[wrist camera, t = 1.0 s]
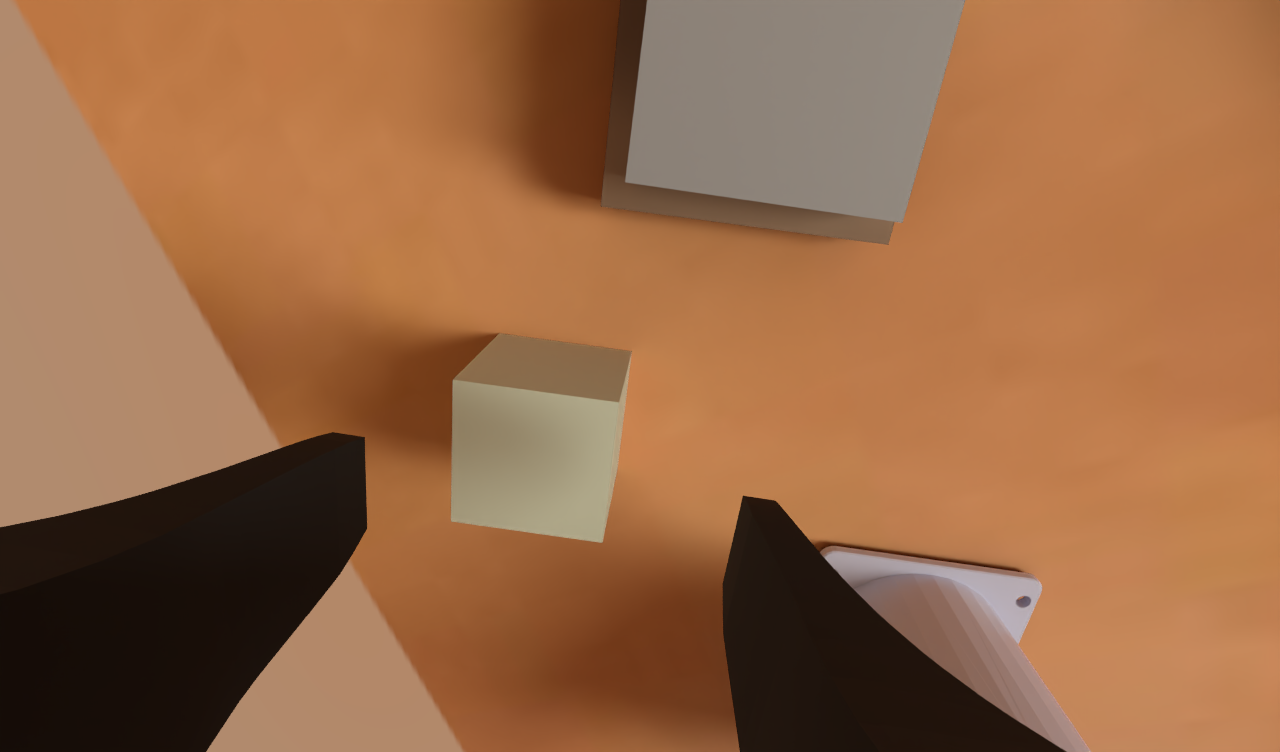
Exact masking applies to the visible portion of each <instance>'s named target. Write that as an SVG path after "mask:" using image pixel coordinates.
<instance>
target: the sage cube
mask: <svg viewBox="0 0 1280 752" xmlns="http://www.w3.org/2000/svg"><path fill="white" fill-rule="evenodd" d="M631 354H632V351H626V350H619V349H611V348H604V347H597V346H589V345H582V344H575V343H567V342H560V341H553V340H545V339H538V338H531V337H523V336H516V335H509V334H501V333H499V334H498V335H497V336H496V337H495V338H494V339H493V340H492V341H491V342H490V343H489V344H488V345H487V346H486V347H485V348H484V349H483V350H482V351H481V352H480V353H479V354H478V355H477V356H476V357H475V358H474V359H473V360H472V361H471V362H470V363H469V364H468V365H467V366H466V367H465V368H464V369H463V370H462V371H461V372H460V373H459V374H458V375H457V376H456V377H455V378H454V379H453V393H452V481H451V521H452V522H459V523H466V524H473V525H480V526H487V527H494V528H501V529H508V530H515V531H523V532H530V533H537V534H544V535H551V536H558V537H565V538H572V539H579V540H586V541H593V542H600V543H603V538H604V533H605V528H606V523H607V518H608V513H609V508H610V503H611V498H612V493H613V488H614V483H615V478H616V473H617V468H618V460H619V452H620V444H621V435H622V427H623V419H624V411H625V403H626V395H627V387H628V379H629V370H630V362H631Z"/></svg>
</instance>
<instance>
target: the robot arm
mask: <svg viewBox="0 0 1280 752" xmlns="http://www.w3.org/2000/svg"><path fill="white" fill-rule="evenodd" d="M366 530H367V507H366V472H365V437H360V436H353V435H347V434H340V433H334V432H332V433H328V434H324V435H320V436H316V437H313V438H310V439H307V440H304V441H301V442H298V443H295V444H292V445H289V446H286V447H283V448H280V449H277V450H275V451H272V452H269V453H266V454H263V455H260V456H258V457H255V458H252V459H249V460H246V461H243V462H241V463H238V464H235V465H232V466H229V467H226V468H223V469H221V470H218V471H215V472H211V473H208V474H205V475H202V476H199V477H196V478H193V479H190V480H186V481H184V482H180V483H177V484H174V485H171V486H168V487H165V488H162V489H158V490H155V491H152V492H149V493H145V494H142V495H138V496H135V497H131V498H127V499H124V500H120V501H116V502H113V503H109V504H105V505H101V506H97V507H93V508H89V509H85V510H81V511H77V512H73V513H68V514H64V515H60V516H55V517H50V518H46V519H40V520H35V521H31V522H26V523H20V524H15V525H10V526H6V527H0V752H206V751H207V749H208V748H209V746H210V745H211V743H212V742H213V740H214V739H215V737H216V736H217V734H218V733H219V731H220V729H221V728H222V727H223V725H224V724H225V722H226V721H227V719H228V718H229V716H230V714H231V713H232V712H233V710H234V709H235V707H236V706H237V704H238V703H239V701H240V700H241V698H242V697H243V696H244V694H245V693H246V692H247V690H248V689H249V688H250V686H251V685H252V684H253V682H254V681H255V680H256V678H257V677H258V676H259V674H260V673H261V672H262V671H263V670H264V668H265V667H266V666H267V665H268V663H269V662H270V661H271V660H272V658H273V657H274V656H275V655H276V653H277V652H278V651H279V650H280V648H281V647H282V646H283V645H284V643H285V642H286V641H287V640H288V639H289V637H290V636H291V635H292V633H293V632H294V631H295V630H296V629H297V627H298V626H299V625H300V624H301V623H302V621H303V620H304V619H305V617H306V616H307V615H308V614H309V613H310V611H311V610H312V609H313V608H314V606H315V605H316V604H317V602H318V601H319V600H320V599H321V598H322V596H323V595H324V594H325V592H326V591H327V590H328V588H329V587H330V586H331V585H332V584H333V582H334V581H335V580H336V578H337V577H338V576H339V575H340V573H341V572H342V570H343V568H344V567H345V565H346V564H347V562H348V560H349V559H350V557H351V556H352V554H353V552H354V551H355V549H356V547H357V545H358V544H359V542H360V540H361V538H362V537H363V535H364V533H365V531H366ZM1041 592H1042V585H1041V583H1040V582H1039V580H1038V579H1037V578H1036V577H1035V576H1034V575H1032V574H1029V573H1023V572H1016V571H1009V570H1002V569H995V568H988V567H981V566H974V565H967V564H960V563H953V562H946V561H939V560H931V559H924V558H917V557H910V556H903V555H896V554H889V553H882V552H875V551H868V550H861V549H854V548H847V547H839V546H829V547H826V548H824V549H823V550H822V551H821V552H819V551H818V550H817V549H816V548H815V547H814V545H813V544H812V543H811V542H810V541H809V540H808V538H807V537H806V536H805V535H804V534H803V532H802V531H801V530H800V529H799V528H798V526H797V525H796V524H795V523H794V522H793V520H792V519H791V518H790V517H789V516H788V514H787V513H786V512H785V511H784V510H783V509H782V507H781V506H780V505H779V504H778V503H777V502H776V501H774V500H767V499H761V498H754V497H748V496H743V498H742V503H741V507H740V511H739V516H738V520H737V524H736V529H735V533H734V537H733V542H732V546H731V550H730V555H729V559H728V563H727V568H726V572H725V577H724V581H723V634H724V642H725V649H726V657H727V664H728V671H729V678H730V685H731V692H732V699H733V706H734V713H735V720H736V727H737V734H738V741H739V748H740V752H1091V751H1090V749H1089V748H1088V746H1087V745H1086V743H1085V742H1084V740H1083V739H1082V737H1081V736H1080V734H1079V733H1078V732H1077V730H1076V729H1075V727H1074V726H1073V724H1072V723H1071V721H1070V720H1069V718H1068V717H1067V715H1066V714H1065V713H1064V711H1063V710H1062V708H1061V707H1060V705H1059V704H1058V702H1057V701H1056V699H1055V698H1054V696H1053V695H1052V693H1051V692H1050V691H1049V689H1048V688H1047V686H1046V685H1045V683H1044V682H1043V680H1042V679H1041V677H1040V676H1039V674H1038V673H1037V672H1036V670H1035V669H1034V667H1033V666H1032V664H1031V663H1030V661H1029V660H1028V658H1027V657H1026V655H1025V654H1024V653H1023V651H1022V650H1021V648H1020V647H1019V645H1018V643H1019V641H1020V639H1021V637H1022V634H1023V632H1024V630H1025V628H1026V625H1027V623H1028V621H1029V619H1030V616H1031V614H1032V612H1033V610H1034V608H1035V605H1036V603H1037V601H1038V599H1039V596H1040V594H1041ZM1021 596H1024V597H1023V598H1022V599H1020V600H1017V599H1018V598H1019V597H1021Z"/></svg>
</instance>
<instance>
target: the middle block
mask: <svg viewBox="0 0 1280 752" xmlns="http://www.w3.org/2000/svg"><path fill="white" fill-rule="evenodd" d="M964 3H965V0H647V6H646V15H645V23H644V31H643V39H642V47H641V56H640V64H639V72H638V80H637V89H636V97H635V105H634V113H633V121H632V130H631V138H630V146H629V154H628V163H627V171H626V179H625V182H627V183H633V184H640V185H647V186H654V187H661V188H668V189H674V190H681V191H688V192H695V193H702V194H709V195H716V196H722V197H729V198H736V199H743V200H750V201H757V202H763V203H770V204H777V205H784V206H791V207H798V208H804V209H811V210H818V211H825V212H832V213H839V214H845V215H852V216H859V217H866V218H873V219H880V220H886V221H893V222H900V223H902V222H903V219H904V215H905V212H906V208H907V205H908V201H909V198H910V194H911V191H912V187H913V183H914V180H915V176H916V173H917V169H918V166H919V162H920V159H921V155H922V152H923V148H924V144H925V141H926V137H927V134H928V130H929V127H930V123H931V120H932V116H933V113H934V109H935V105H936V102H937V98H938V95H939V91H940V88H941V84H942V81H943V77H944V74H945V70H946V67H947V63H948V59H949V56H950V52H951V49H952V45H953V42H954V38H955V35H956V31H957V28H958V24H959V20H960V17H961V13H962V10H963V6H964Z"/></svg>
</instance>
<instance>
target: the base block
mask: <svg viewBox="0 0 1280 752" xmlns="http://www.w3.org/2000/svg"><path fill="white" fill-rule="evenodd" d="M646 6H647V0H621V1H620V12H619V22H618V32H617V43H616V53H615V63H614V74H613V84H612V95H611V105H610V115H609V126H608V136H607V146H606V157H605V167H604V178H603V188H602V198H601V207H608V208H616V209H623V210H631V211H638V212H646V213H653V214H661V215H668V216H676V217H683V218H691V219H699V220H706V221H714V222H721V223H729V224H736V225H744V226H751V227H759V228H766V229H774V230H781V231H789V232H796V233H804V234H811V235H819V236H826V237H834V238H841V239H849V240H856V241H864V242H871V243H879V244H886V245H888V244H889V240H890V237H891V233H892V229H893V225H894V222H893V221H886V220H880V219H873V218H866V217H859V216H852V215H845V214H839V213H832V212H825V211H818V210H811V209H804V208H798V207H791V206H784V205H777V204H770V203H763V202H757V201H750V200H743V199H736V198H729V197H722V196H716V195H709V194H702V193H695V192H688V191H681V190H674V189H668V188H661V187H654V186H647V185H640V184H633V183H627V182H625V179H626V171H627V163H628V154H629V146H630V138H631V130H632V121H633V113H634V105H635V97H636V89H637V80H638V72H639V64H640V56H641V47H642V39H643V31H644V23H645V15H646Z"/></svg>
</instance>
